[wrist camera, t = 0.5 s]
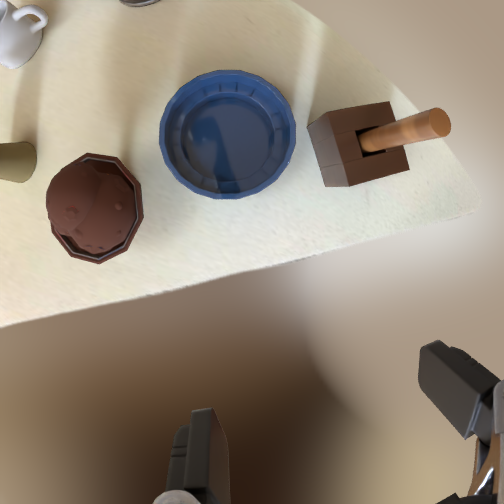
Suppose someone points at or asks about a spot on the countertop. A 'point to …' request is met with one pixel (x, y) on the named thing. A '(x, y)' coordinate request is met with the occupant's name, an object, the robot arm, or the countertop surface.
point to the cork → (17, 161)
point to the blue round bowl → (227, 134)
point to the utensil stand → (354, 146)
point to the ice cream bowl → (94, 207)
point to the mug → (19, 33)
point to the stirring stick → (406, 131)
